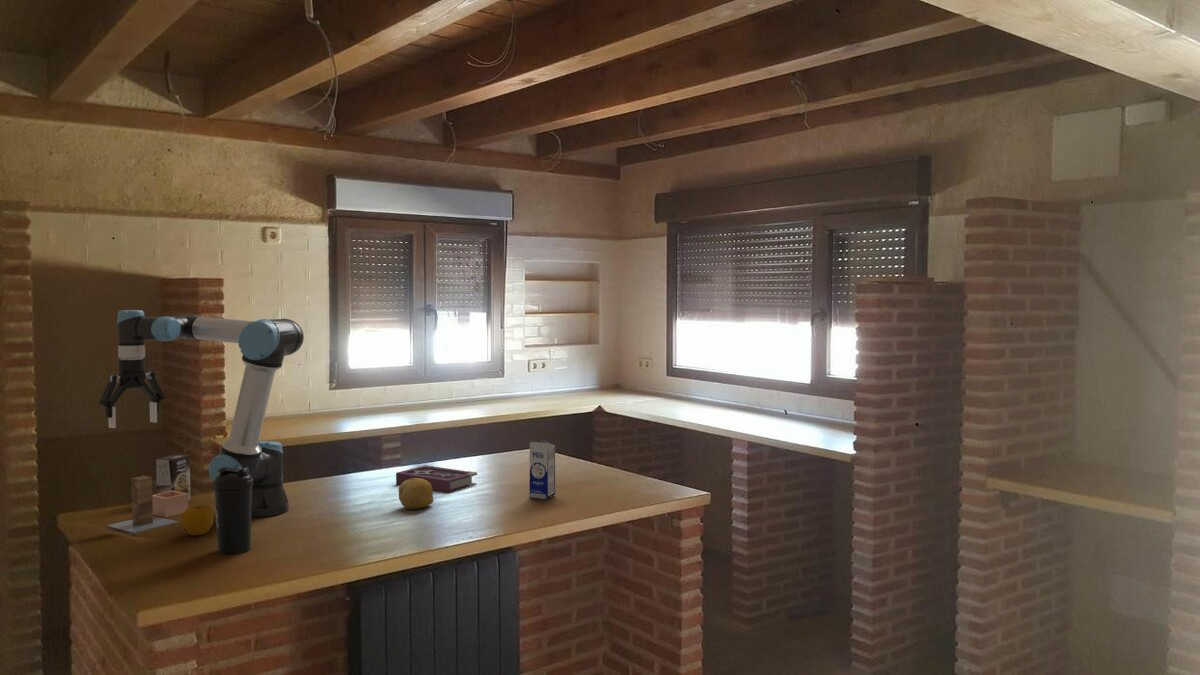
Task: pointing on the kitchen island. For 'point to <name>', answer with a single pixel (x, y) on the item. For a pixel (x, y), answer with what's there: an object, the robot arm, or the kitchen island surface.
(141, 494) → the peg
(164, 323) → the robot arm
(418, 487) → the potato
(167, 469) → the coffee box
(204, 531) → the apple
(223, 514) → the water bottle
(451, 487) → the book
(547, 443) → the milk carton
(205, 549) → the kitchen island surface
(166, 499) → the box with hole
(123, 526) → the tile
